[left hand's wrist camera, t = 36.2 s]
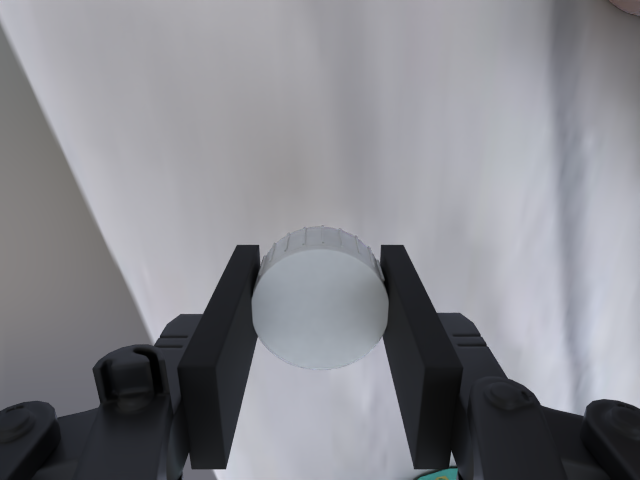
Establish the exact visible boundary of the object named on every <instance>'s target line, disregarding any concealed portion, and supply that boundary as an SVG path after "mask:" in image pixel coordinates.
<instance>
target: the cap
mask: <svg viewBox="0 0 640 480" xmlns="http://www.w3.org/2000/svg"><path fill="white" fill-rule="evenodd" d="M384 281H385V279H384V276H383V273H382V270H381V267H380V263H379V261H378V260H376V259H375V257H374V255H373V253H372V252H371V249H370V247H369V246H368V247H367V246H366V245H365V244H364V243H363V242H362V241H360V240H359V239H358V237H357V236H353V235H351V234H349V233H347V232H345V231H342V229H340V228H339V229H335V228H329V227H324V226H322V227H310V228H306V227H304V229H301V230H298V231H295V232H293V233H291V234H290V233H288V234H287V236H286V237H284V238H283V239H281V240H280V241H279V242H277V243H274V244H273V247H272V249H271V250H270V251H269V252H268V254H267V255H266V256H264V257H263V260H262V263H261V267H260V270H259V273H258V276H257V280H256V283H255V286H254V289H253V296H252V318H253V326H254V329H255V331H256V333H257V335H258V337H259V339H260V340H261V342H262V343H263V344H264V345H265V346H266V348H267V349H268V350H269V351H270V352H272V353H273V354H274V355H275V356H277V357H278V358H280V359H281V360H283V361H285V362H287V363H289V364H292V365H294V366H297V367H301V368H305V369H312V370H328V369H335V368H340V367H343V366H346V365H349V364H351V363H353V362H355V361H357V360H359V359H361V358H362V357H364V356H365V355H366V354H368V353H369V352H370V351H371V350H372V349H373V348H374V347H375V346H376V344H377V343H378V342H379V341H380V339H381V337H382V336H383V334H384V332H385V329H386V327H387V322H388V307H389V299H388V294H387V291H386V288H385V285H384Z"/></svg>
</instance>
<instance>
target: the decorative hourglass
mask: <svg viewBox="0 0 640 480" xmlns="http://www.w3.org/2000/svg"><path fill="white" fill-rule="evenodd" d="M457 471H458V469H446V470H442V471H439V472H436V473H433V474H429V475H426V476H423V477H420V478H419V479H417V480H456V478H457Z"/></svg>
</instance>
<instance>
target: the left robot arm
mask: <svg viewBox="0 0 640 480" xmlns="http://www.w3.org/2000/svg"><path fill="white" fill-rule="evenodd" d="M380 267H381V270H382V273H383V276H384V279H385V281H384V285H385V288H386V291H387V294H388V299H389V307H388V322H387V327H386V329H385V332H384V334H383V340H384V344H385V349H386V353H387V357H388V361H389V365H390V370H391V374H392V378H393V382H394V386H395V390H396V395H397V399H398V403H399V407H400V411H401V416H402V420H403V424H404V428H405V432H406V436H407V441H408V445H409V449H410V453H411V457H412V462H413V466H414V469H449V463H450V456H451V450H452V453H453V456H454V459H455V462H456V465H457V468H458V471H457V478H456V480H640V409H639V408H637V407H635V406H633V405H630V404H627V403H624V402H620V401H616V400H607V399H602V400H596V401H592V402H591V403H590V404H589V405H588V406H587V407H586V410H585V414H584V416H581V415H577V414H572V413H568V412H563V411H559V410H554V409H551V408H548V407H544V406H542V405H540V402H539V401H538V399H537V398H536V396H535V395H534V393H532V392H531V391H530V390H529V389H527V388H526V387H525V386H524V385H522V384H519V383H517V382H515V381H513V380H511V379H508V378H507V376H506V375H505V373H504V371H503V370H502V368H501V367H500V365H499V363H498V362H497V360H496V359H495V357H494V355H493V354H492V352H491V351H490V349H489V347H487V344H486V342H485V341H484V339H483V338H482V337H481V334H480V333H479V331H478V330H477V328H476V326H475V325H474V323H473V322H471V321H470V320H469V319H467V318H466V317H465V316H463V315H462V314H461V313H436V311H435V309H434V307H433V304H432V302H431V300H430V298H429V296H428V294H427V292H426V290H425V288H424V286H423V284H422V282H421V280H420V278H419V276H418V274H417V272H416V270H415V268H414V266H413V264H412V262H411V260H410V258H409V256H408V254H407V252H406V249H405V247H404V245H381V257H380ZM259 270H260V252H259V245H237V246H236V248H235V250H234V252H233V254H232V256H231V258H230V260H229V262H228V264H227V266H226V268H225V270H224V272H223V275H222V277H221V279H220V281H219V283H218V285H217V287H216V289H215V291H214V293H213V295H212V297H211V299H210V301H209V303H208V305H207V307H206V309H205V311H204V313H203V314H180V315H179V316H178V317H176V318H175V319H174V320H172V321H171V322H169V323H168V324H167V325H166V327H165V328H164V330H163V332H162V333H161V335H160V338H158V340H157V341H156V343H155V345H154V346H152V345H132V346H127V347H122V348H120V349H117V350H115V351H113V352H110V353H108V354H107V355H106V356H104V357H103V358H101V359H100V360H99V361H98V362H97V363H96V365H95V366H94V367H93V373H94V377H95V382H96V386H97V391H98V395H99V399H100V406H99V407H98V408H95V409H92V410H88V411H85V412H80V413H76V414H72V415H67V416H63V417H59V418H57V416H56V412H55V409H54V408H53V407H52V406H51V405H50V404H49V403H46V402H41V401H31V402H23V403H20V404H16V405H13V406H10V407H7V408H5V409H3V410H2V411H0V480H184V478H183V468H184V465H185V462H186V459H187V456H188V453H189V454H190V461H191V468H192V469H226V467H227V463H228V459H229V454H230V450H231V446H232V442H233V438H234V433H235V429H236V425H237V421H238V417H239V412H240V408H241V404H242V400H243V396H244V392H245V387H246V383H247V379H248V375H249V371H250V366H251V362H252V358H253V354H254V350H255V346H256V341H257V337H258V335H257V333H256V331H255V329H254V326H253V318H252V296H253V289H254V286H255V283H256V280H257V276H258V273H259Z"/></svg>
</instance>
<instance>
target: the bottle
mask: <svg viewBox="0 0 640 480" xmlns="http://www.w3.org/2000/svg"><path fill="white" fill-rule="evenodd" d="M609 1H610V2H611V3H612V4H613V5H615V6H616V7H618V8H619V9H621V10H623V11H625V12H627V13H629V14H633V15H636V16H640V0H609Z"/></svg>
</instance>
